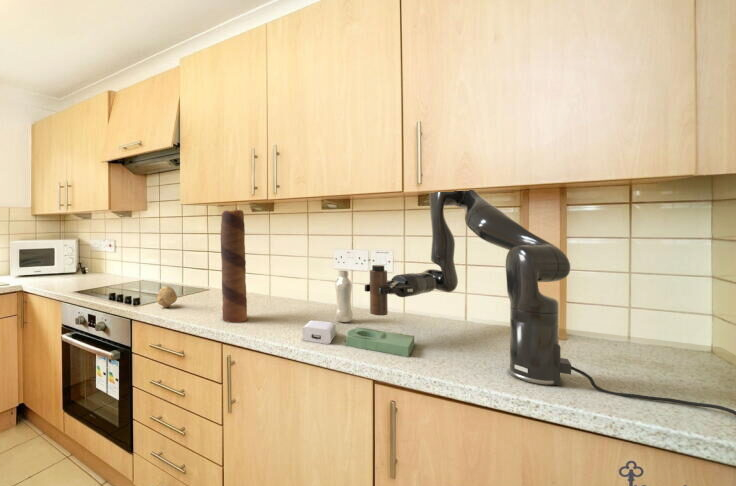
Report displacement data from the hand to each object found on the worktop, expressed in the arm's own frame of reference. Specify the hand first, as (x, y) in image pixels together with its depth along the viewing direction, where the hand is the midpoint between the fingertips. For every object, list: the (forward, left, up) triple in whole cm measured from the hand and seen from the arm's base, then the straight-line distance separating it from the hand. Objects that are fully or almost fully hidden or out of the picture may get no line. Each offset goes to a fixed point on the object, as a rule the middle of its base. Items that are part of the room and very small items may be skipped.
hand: (372, 289), depth 116 cm
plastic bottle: (+16, -22, -18) cm, 32 cm away
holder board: (-2, -1, -18) cm, 18 cm away
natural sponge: (+93, -2, -18) cm, 95 cm away
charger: (+17, 0, -18) cm, 25 cm away
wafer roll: (+54, -1, -18) cm, 57 cm away
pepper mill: (-1, -2, -8) cm, 8 cm away
